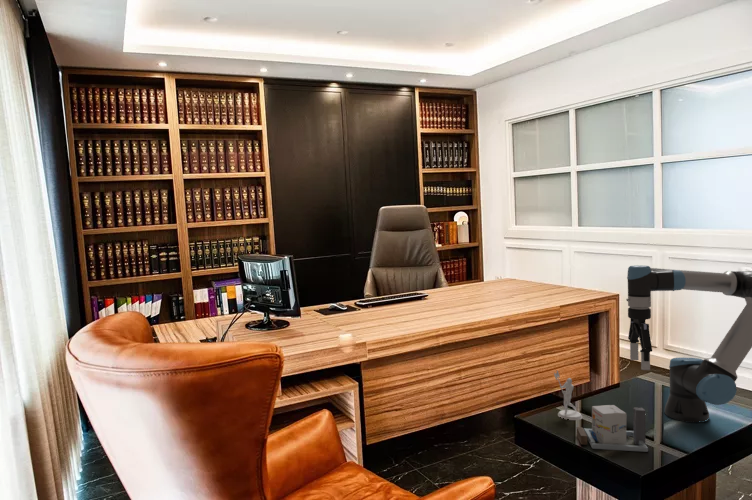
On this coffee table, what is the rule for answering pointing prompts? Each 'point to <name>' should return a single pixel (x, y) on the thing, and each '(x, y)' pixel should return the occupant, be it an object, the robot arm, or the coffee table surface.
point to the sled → (637, 435)
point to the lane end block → (581, 435)
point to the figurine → (568, 401)
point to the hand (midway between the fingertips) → (639, 364)
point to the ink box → (609, 424)
